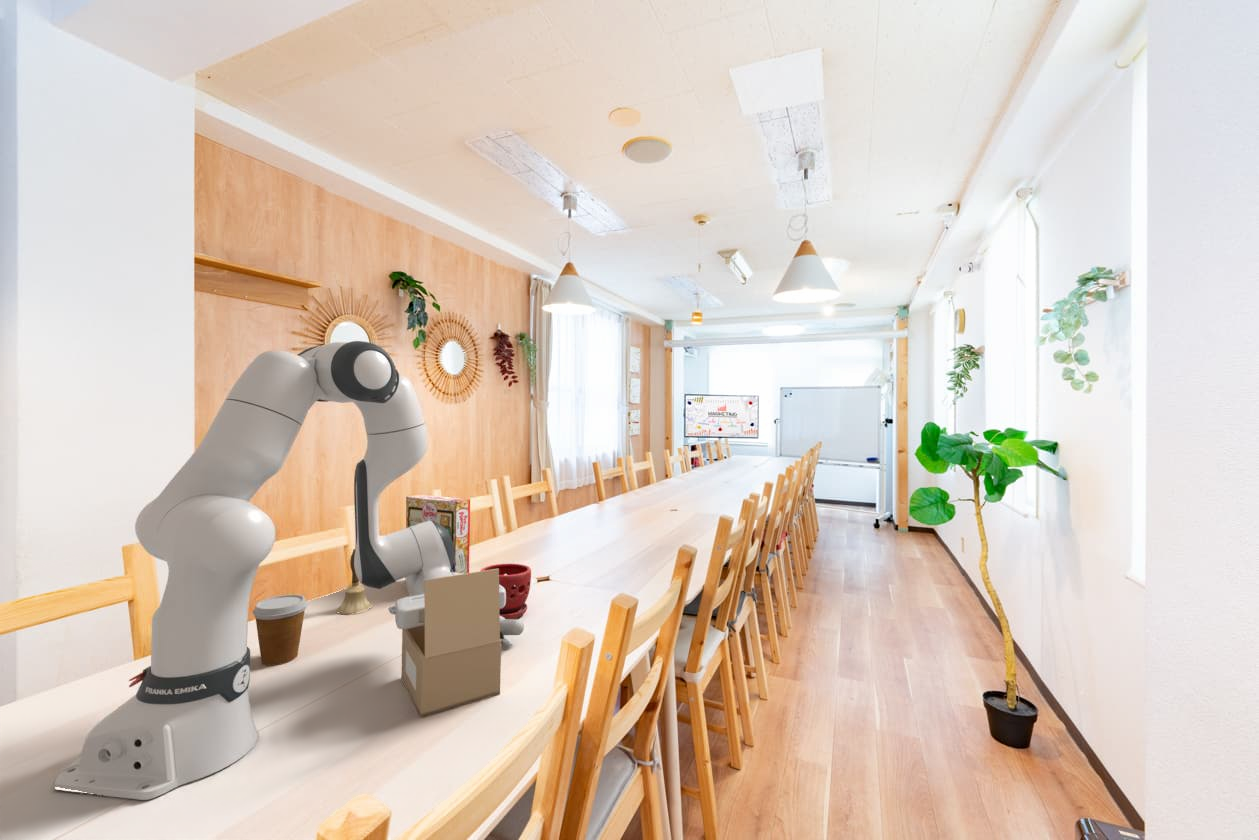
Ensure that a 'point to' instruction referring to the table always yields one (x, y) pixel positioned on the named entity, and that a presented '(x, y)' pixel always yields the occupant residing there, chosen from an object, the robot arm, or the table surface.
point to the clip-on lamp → (510, 628)
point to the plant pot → (513, 588)
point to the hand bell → (354, 595)
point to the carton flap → (461, 611)
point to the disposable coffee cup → (279, 627)
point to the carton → (448, 673)
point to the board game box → (444, 522)
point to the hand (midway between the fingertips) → (464, 617)
